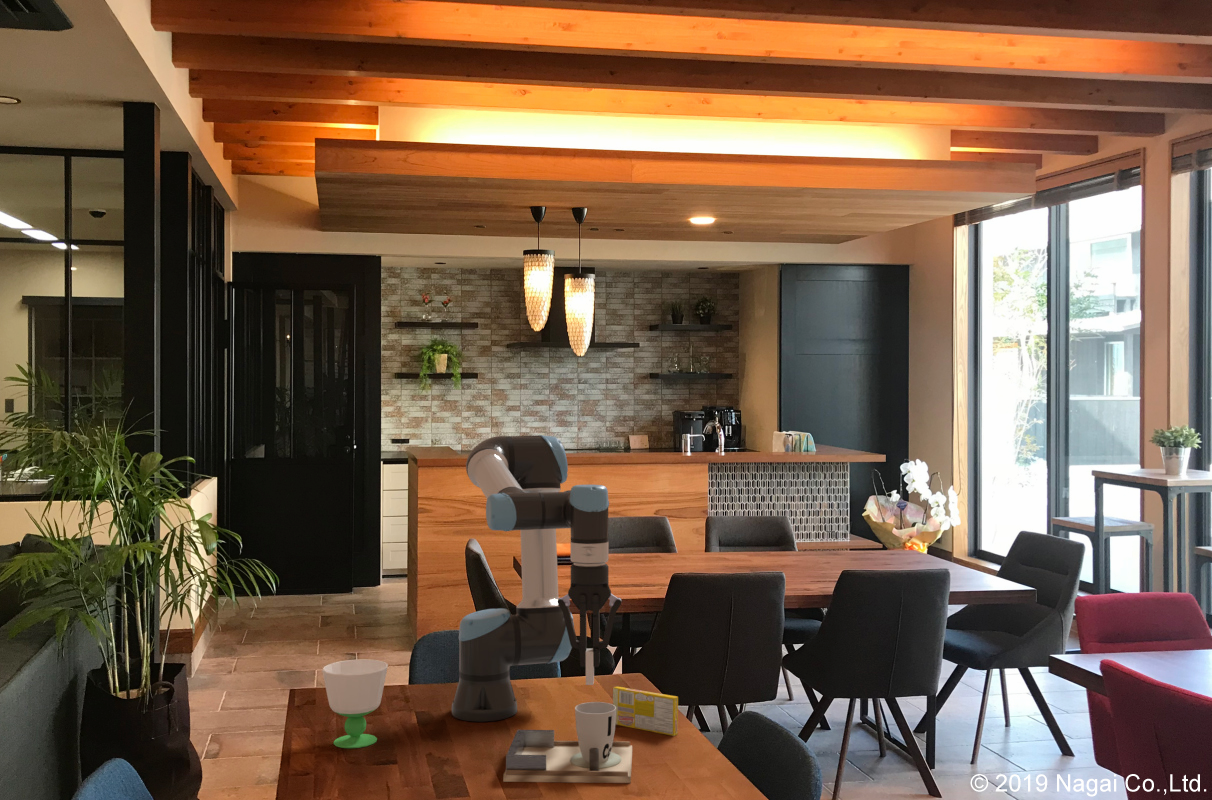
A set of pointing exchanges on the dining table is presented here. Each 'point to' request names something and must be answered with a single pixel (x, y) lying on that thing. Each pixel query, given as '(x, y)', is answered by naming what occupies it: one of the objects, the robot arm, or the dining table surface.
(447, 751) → the dining table surface
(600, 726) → the cup
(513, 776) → the jig
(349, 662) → the cup
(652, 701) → the candy box
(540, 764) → the grey u-shaped bracket
